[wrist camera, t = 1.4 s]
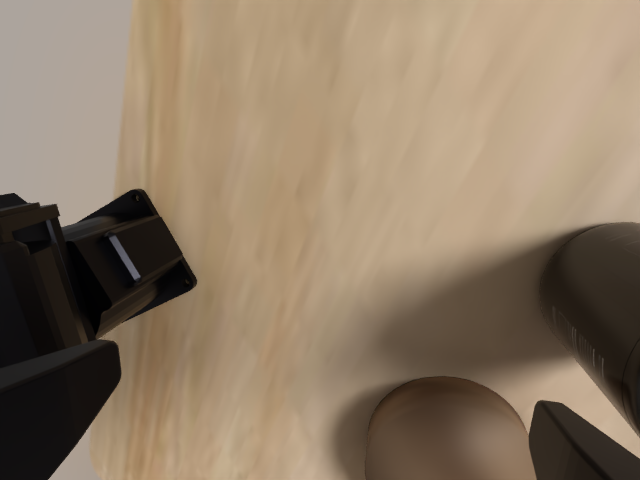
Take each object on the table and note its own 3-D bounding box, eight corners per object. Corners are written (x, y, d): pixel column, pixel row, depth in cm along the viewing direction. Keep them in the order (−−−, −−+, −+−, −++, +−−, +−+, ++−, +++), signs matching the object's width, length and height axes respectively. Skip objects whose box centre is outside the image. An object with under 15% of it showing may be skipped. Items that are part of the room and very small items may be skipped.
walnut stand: (406, 518, 25) (407, 558, 23) (342, 403, 24) (336, 433, 21) (552, 486, 23) (571, 527, 20) (491, 355, 21) (503, 383, 19)
